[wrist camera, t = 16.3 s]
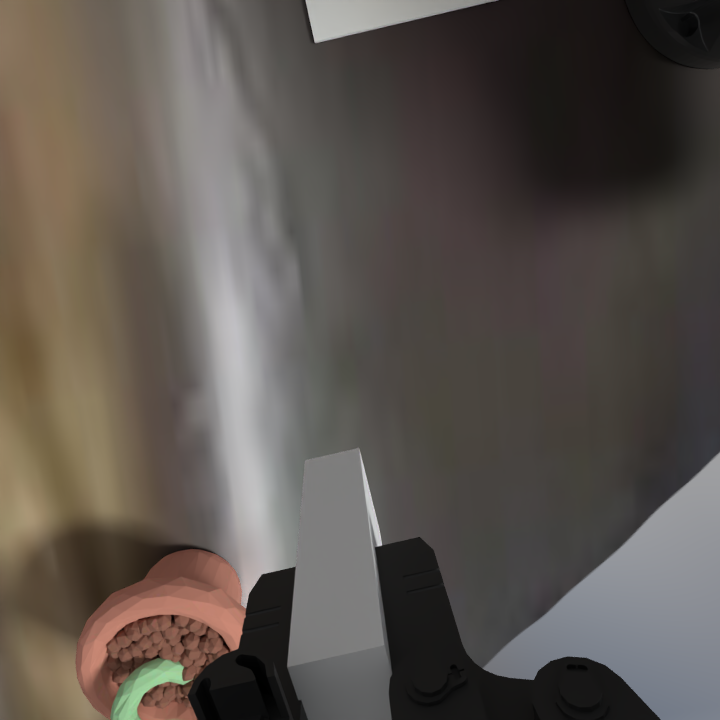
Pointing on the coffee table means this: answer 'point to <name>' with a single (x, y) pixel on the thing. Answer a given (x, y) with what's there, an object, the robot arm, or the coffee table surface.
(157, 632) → the decorative flower
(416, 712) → the robot arm
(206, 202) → the coffee table surface
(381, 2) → the grey mat
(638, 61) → the coffee table surface
